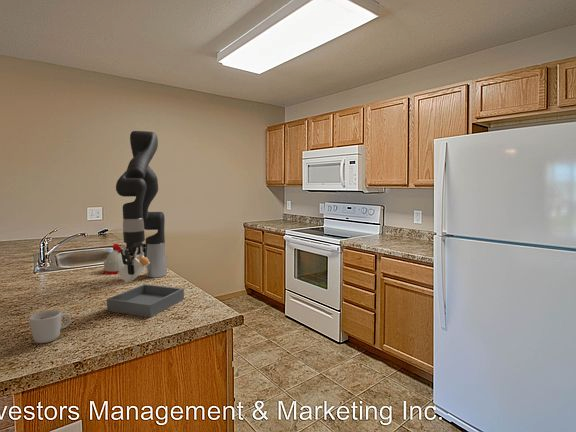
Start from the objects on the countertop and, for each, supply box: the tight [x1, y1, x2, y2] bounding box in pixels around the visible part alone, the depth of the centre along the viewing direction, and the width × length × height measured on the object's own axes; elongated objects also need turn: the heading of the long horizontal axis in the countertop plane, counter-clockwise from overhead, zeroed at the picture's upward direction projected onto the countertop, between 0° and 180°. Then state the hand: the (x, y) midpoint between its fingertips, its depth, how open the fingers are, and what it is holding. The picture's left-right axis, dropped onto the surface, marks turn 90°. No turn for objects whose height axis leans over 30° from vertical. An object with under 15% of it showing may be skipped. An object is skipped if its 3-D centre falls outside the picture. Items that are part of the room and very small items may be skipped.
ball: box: [139, 257, 149, 266], centre depth 132 cm, size 3×3×3 cm
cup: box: [28, 309, 72, 344], centre depth 106 cm, size 11×8×8 cm
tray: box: [106, 283, 185, 318], centre depth 134 cm, size 20×20×4 cm
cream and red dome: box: [103, 243, 127, 275], centre depth 185 cm, size 14×14×15 cm
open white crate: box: [117, 254, 150, 284], centre depth 133 cm, size 5×5×10 cm
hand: (135, 272), depth 133 cm, fingers closed on open white crate, 5 cm apart
